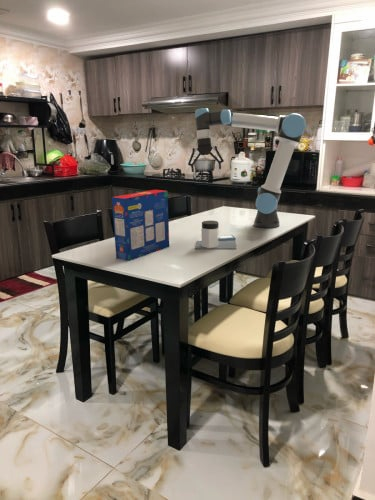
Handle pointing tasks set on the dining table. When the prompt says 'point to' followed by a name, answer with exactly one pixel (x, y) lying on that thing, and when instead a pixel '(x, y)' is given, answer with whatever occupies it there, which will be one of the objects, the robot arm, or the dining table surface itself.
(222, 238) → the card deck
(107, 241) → the dining table surface
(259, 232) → the dining table surface
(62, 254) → the dining table surface
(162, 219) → the blue cardboard box
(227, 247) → the mat
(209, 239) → the jar
